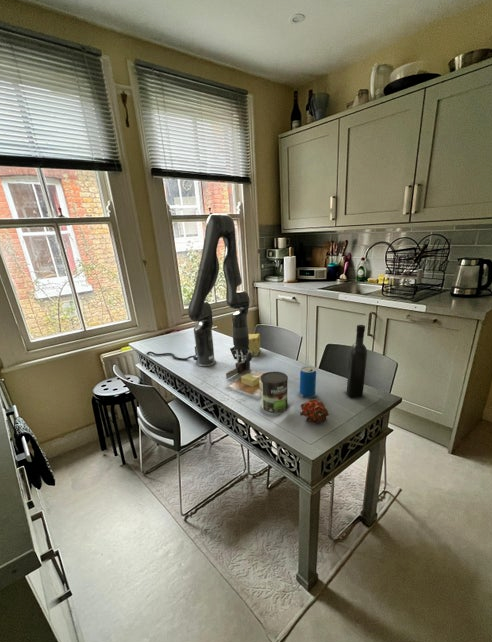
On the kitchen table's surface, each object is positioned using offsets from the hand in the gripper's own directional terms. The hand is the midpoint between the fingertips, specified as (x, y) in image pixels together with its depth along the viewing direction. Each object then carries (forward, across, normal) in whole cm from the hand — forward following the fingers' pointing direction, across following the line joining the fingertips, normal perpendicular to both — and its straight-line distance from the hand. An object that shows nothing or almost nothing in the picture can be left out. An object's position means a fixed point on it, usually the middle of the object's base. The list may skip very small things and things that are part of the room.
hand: (242, 368), depth 155 cm
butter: (+1, -11, +8) cm, 14 cm away
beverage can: (+3, -37, +1) cm, 37 cm away
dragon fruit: (+3, -48, +16) cm, 51 cm away
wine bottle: (+3, -53, -10) cm, 54 cm away
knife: (+1, 0, +4) cm, 4 cm away
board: (+3, -13, +6) cm, 14 cm away
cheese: (+3, +15, -24) cm, 28 cm away
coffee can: (+3, -32, +18) cm, 37 cm away
